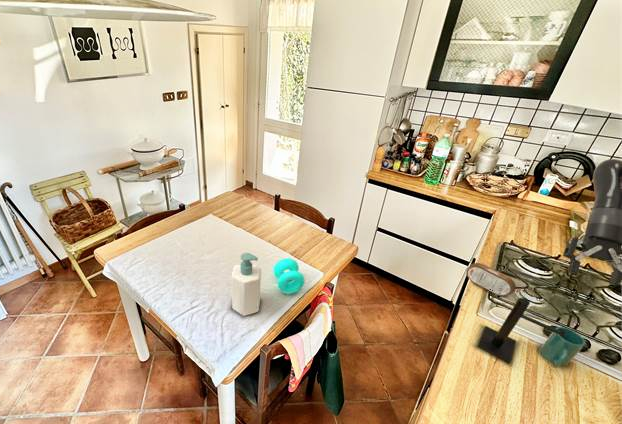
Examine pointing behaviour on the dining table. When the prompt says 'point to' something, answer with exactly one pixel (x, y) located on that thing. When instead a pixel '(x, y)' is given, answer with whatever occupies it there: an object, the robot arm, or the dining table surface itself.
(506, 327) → the mug stand
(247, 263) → the soap bottle
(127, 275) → the dining table surface
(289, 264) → the turquoise dumbbell
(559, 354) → the mug
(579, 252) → the robot arm
